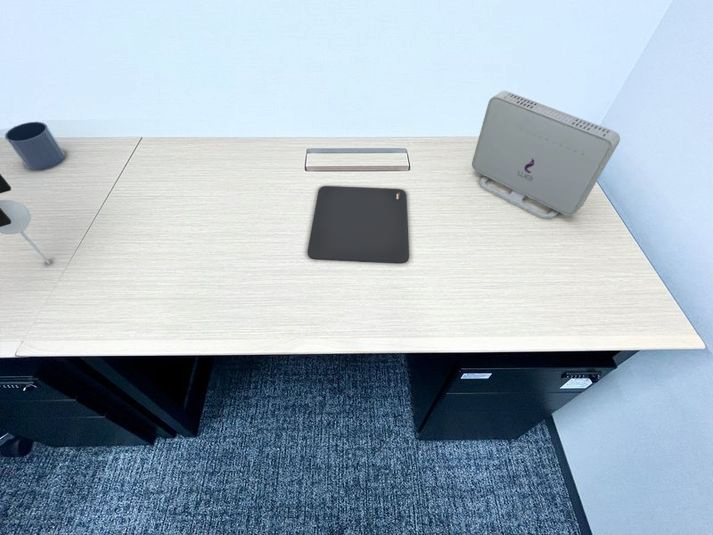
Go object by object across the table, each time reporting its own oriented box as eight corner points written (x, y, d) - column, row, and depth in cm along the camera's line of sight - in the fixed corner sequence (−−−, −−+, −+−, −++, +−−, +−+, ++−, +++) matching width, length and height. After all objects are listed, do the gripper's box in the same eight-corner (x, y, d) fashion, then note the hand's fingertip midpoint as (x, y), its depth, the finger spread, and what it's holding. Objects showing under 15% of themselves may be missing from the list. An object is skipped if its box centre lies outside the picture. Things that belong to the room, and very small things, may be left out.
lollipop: (66, 248, 80) (19, 188, 68) (67, 268, 76) (17, 209, 65) (31, 258, 78) (-24, 198, 67) (30, 279, 75) (-28, 220, 63)
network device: (463, 178, 96) (484, 98, 81) (482, 163, 100) (506, 84, 85) (564, 230, 85) (611, 147, 70) (581, 210, 89) (629, 128, 74)
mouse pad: (409, 263, 78) (409, 262, 78) (306, 259, 79) (306, 257, 78) (405, 190, 93) (406, 189, 93) (319, 186, 93) (319, 185, 93)
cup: (27, 174, 95) (5, 145, 89) (26, 156, 100) (5, 127, 94) (66, 164, 98) (48, 135, 92) (63, 147, 103) (45, 118, 97)
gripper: (-109, 91, 57) (-23, 187, 70) (-134, 150, 47) (-29, 249, 60) (-47, 79, 60) (25, 174, 73) (-58, 133, 50) (28, 232, 63)
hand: (1, 208), depth 66 cm, fingers open, 9 cm apart
